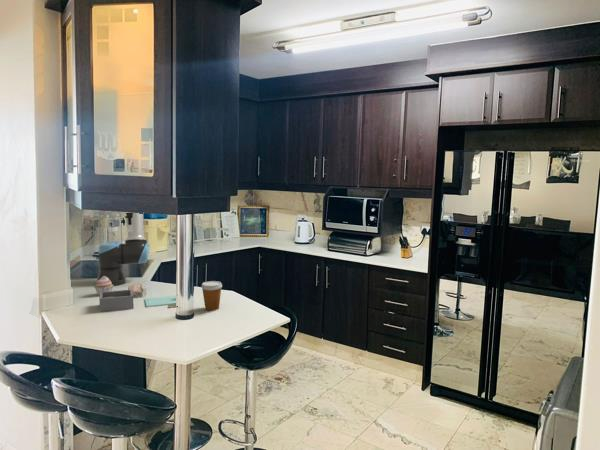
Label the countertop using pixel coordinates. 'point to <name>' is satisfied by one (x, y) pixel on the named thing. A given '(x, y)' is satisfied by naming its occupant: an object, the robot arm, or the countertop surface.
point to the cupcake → (103, 285)
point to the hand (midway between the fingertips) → (129, 229)
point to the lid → (161, 301)
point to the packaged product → (137, 290)
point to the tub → (116, 300)
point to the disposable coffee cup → (211, 294)
